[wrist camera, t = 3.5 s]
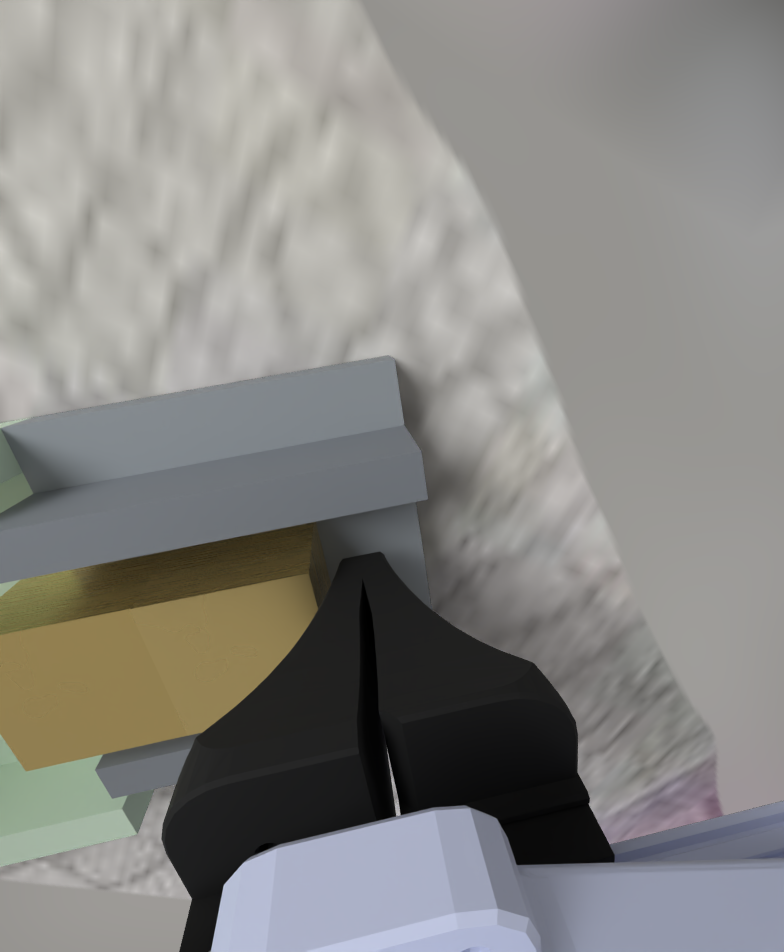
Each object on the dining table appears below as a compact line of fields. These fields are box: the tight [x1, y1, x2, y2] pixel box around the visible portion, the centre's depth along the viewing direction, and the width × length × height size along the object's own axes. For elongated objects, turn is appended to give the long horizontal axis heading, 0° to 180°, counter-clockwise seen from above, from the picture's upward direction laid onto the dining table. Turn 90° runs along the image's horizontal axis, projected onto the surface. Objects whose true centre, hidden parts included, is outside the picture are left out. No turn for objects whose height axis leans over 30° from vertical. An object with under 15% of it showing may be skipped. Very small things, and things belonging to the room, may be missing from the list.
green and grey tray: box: [0, 356, 432, 867], centre depth 12 cm, size 12×20×4 cm, turn 99°
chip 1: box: [0, 550, 188, 771], centre depth 11 cm, size 4×4×3 cm
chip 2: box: [129, 522, 331, 736], centre depth 12 cm, size 4×4×3 cm
